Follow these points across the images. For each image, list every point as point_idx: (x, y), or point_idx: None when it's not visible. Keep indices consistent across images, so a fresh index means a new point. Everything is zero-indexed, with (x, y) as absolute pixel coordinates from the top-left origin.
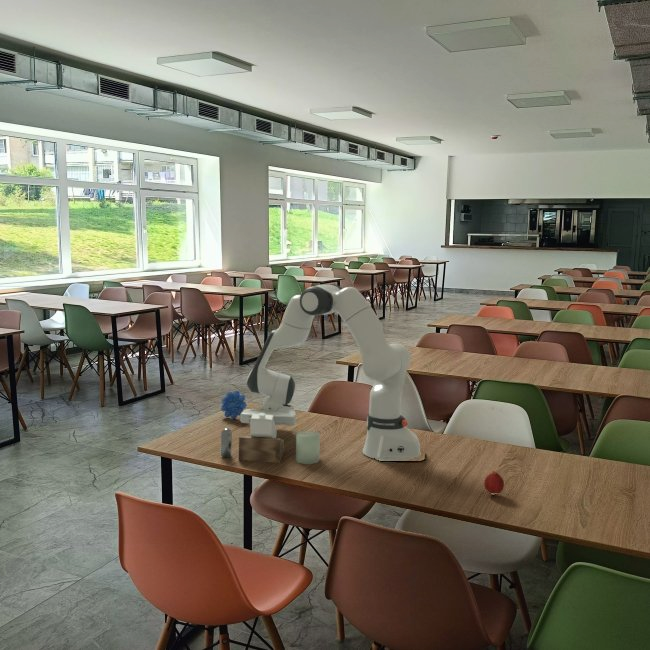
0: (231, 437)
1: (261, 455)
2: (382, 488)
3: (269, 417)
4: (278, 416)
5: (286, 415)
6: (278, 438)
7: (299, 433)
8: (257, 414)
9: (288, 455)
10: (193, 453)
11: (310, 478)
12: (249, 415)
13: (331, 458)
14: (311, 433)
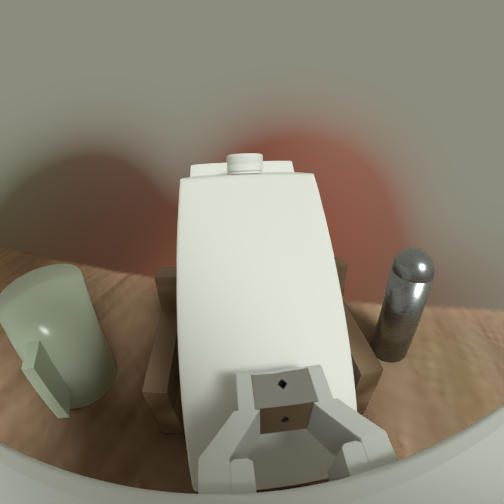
0: (389, 286)
1: None
2: (16, 271)
3: (203, 176)
4: (134, 487)
5: (31, 477)
6: (165, 275)
7: (61, 294)
8: (283, 173)
9: (139, 411)
10: (472, 328)
11: (108, 282)
12: (497, 408)
13: (8, 381)
14: (17, 299)
